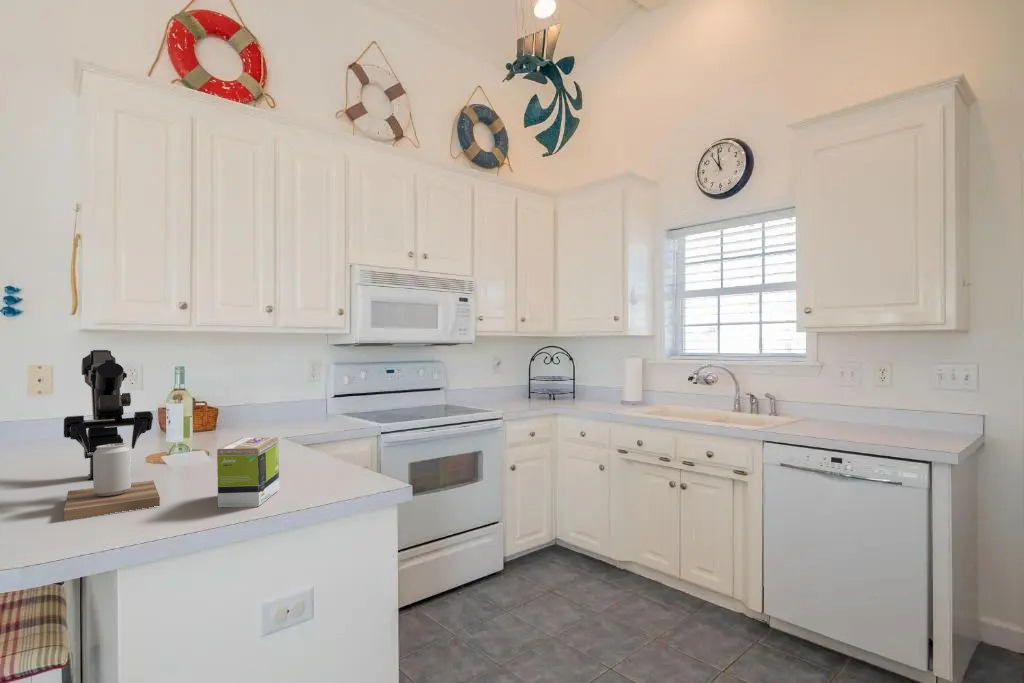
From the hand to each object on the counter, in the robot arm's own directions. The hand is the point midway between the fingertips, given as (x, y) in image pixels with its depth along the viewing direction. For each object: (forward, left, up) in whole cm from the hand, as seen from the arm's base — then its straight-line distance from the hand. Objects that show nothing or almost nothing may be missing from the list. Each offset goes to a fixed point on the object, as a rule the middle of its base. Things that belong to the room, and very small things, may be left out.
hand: (111, 449), depth 139 cm
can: (+6, 0, -10) cm, 11 cm away
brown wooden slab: (+6, 0, -13) cm, 14 cm away
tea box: (+22, +28, -13) cm, 38 cm away
